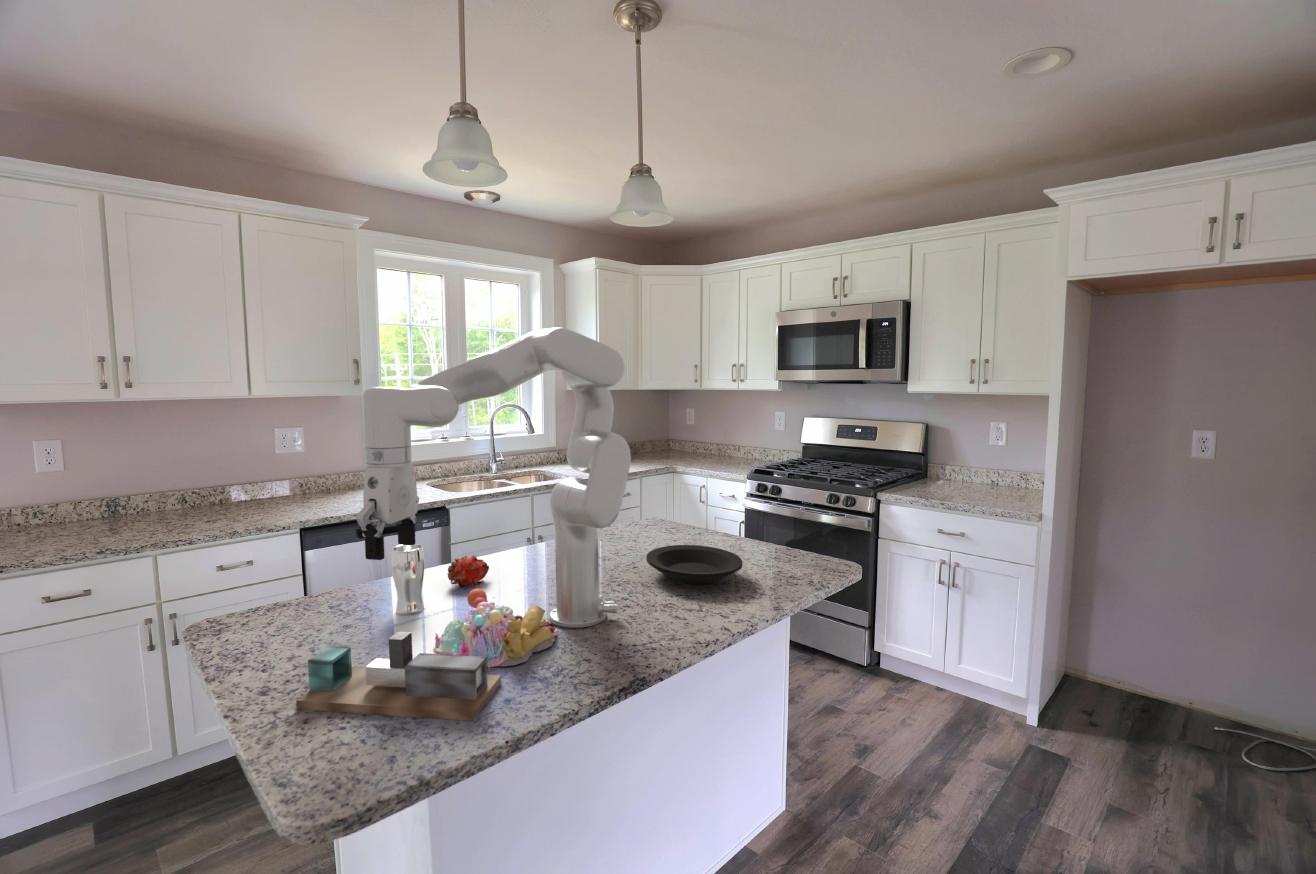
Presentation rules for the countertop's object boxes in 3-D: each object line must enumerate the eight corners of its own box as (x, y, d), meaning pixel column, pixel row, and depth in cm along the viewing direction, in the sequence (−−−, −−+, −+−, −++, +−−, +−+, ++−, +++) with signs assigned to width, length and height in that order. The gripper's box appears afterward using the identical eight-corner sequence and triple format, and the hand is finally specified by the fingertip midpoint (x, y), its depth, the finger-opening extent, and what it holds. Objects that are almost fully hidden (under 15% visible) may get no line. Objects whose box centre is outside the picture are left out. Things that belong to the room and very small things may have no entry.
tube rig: (501, 683, 109) (499, 646, 109) (472, 720, 97) (471, 679, 97) (342, 674, 113) (340, 638, 112) (296, 709, 101) (294, 669, 100)
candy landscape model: (573, 627, 135) (572, 585, 134) (526, 678, 112) (525, 628, 111) (469, 617, 140) (467, 578, 140) (404, 664, 118) (402, 617, 117)
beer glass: (414, 617, 140) (412, 552, 139) (387, 615, 141) (384, 550, 140) (432, 606, 147) (429, 544, 145) (405, 604, 148) (402, 542, 147)
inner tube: (482, 682, 105) (480, 635, 104) (474, 691, 102) (472, 643, 101) (377, 676, 107) (374, 630, 106) (366, 685, 104) (363, 638, 103)
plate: (763, 584, 161) (763, 563, 160) (689, 603, 148) (689, 580, 147) (696, 558, 184) (696, 540, 184) (628, 573, 171) (627, 553, 170)
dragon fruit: (443, 596, 158) (485, 591, 166) (458, 583, 153) (501, 578, 162) (437, 565, 161) (478, 562, 170) (451, 551, 157) (493, 548, 165)
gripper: (378, 463, 100) (382, 566, 102) (433, 451, 117) (435, 540, 119) (336, 462, 102) (340, 564, 103) (397, 451, 119) (399, 538, 120)
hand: (391, 551), depth 111 cm, fingers open, 9 cm apart
